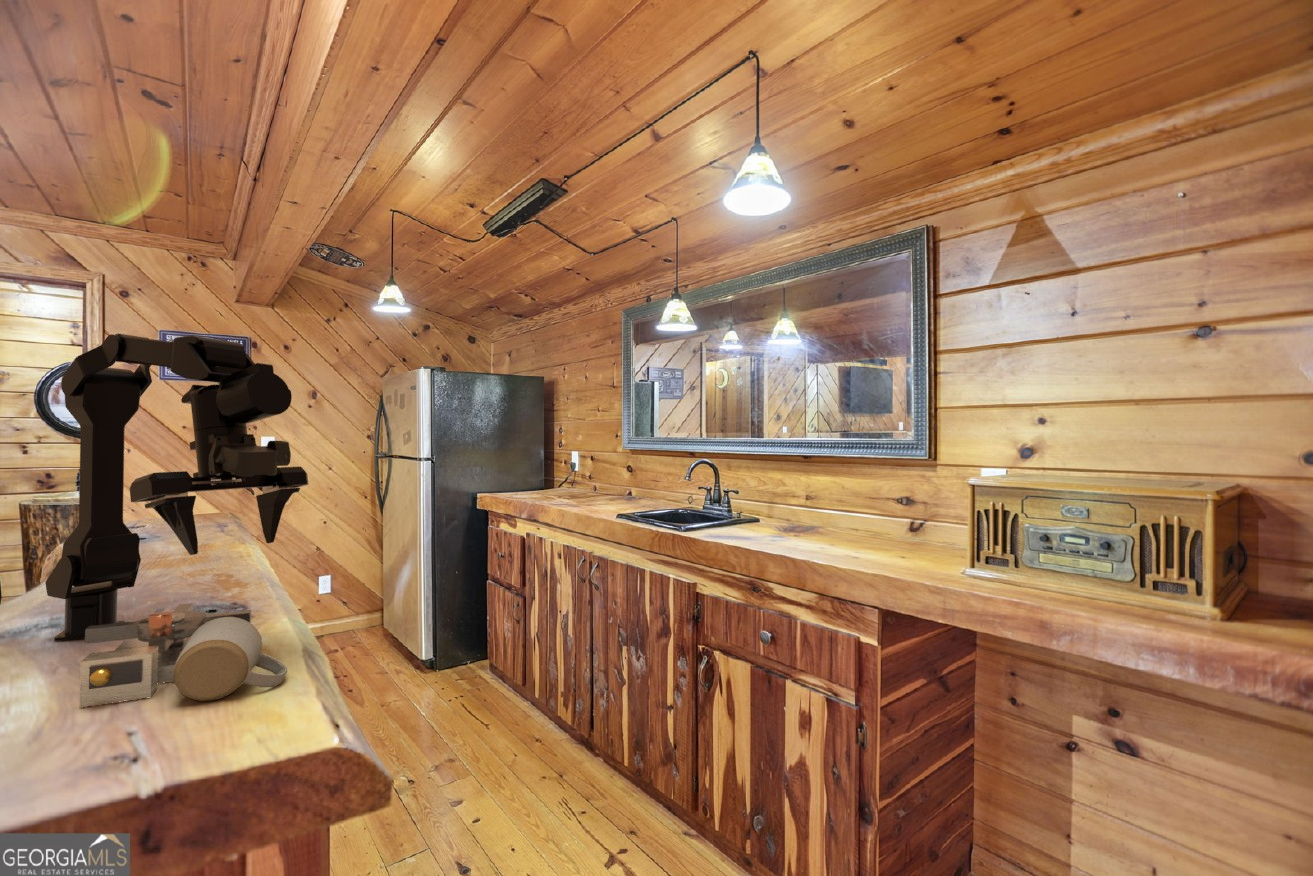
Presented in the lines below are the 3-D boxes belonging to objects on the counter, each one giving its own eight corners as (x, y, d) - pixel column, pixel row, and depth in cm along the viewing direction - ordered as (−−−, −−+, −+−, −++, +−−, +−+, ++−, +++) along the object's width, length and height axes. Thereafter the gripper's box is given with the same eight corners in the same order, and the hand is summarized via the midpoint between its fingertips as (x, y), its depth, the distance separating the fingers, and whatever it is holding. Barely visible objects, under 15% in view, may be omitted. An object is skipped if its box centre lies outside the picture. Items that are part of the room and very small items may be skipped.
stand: (132, 646, 84) (133, 610, 84) (236, 634, 90) (236, 601, 90) (68, 714, 63) (70, 666, 64) (208, 693, 69) (209, 649, 69)
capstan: (108, 624, 83) (109, 593, 83) (256, 610, 91) (257, 581, 91) (60, 665, 68) (61, 626, 68) (242, 643, 76) (243, 609, 76)
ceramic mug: (167, 710, 65) (171, 639, 65) (185, 683, 72) (188, 619, 72) (283, 695, 70) (286, 628, 70) (289, 671, 77) (291, 610, 77)
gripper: (170, 415, 68) (184, 554, 66) (326, 420, 84) (340, 530, 83) (122, 435, 72) (134, 564, 71) (278, 435, 89) (290, 540, 88)
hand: (234, 548), depth 78 cm, fingers open, 9 cm apart
